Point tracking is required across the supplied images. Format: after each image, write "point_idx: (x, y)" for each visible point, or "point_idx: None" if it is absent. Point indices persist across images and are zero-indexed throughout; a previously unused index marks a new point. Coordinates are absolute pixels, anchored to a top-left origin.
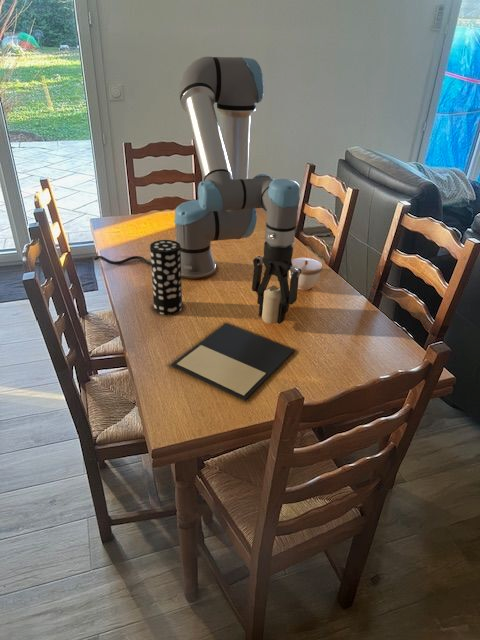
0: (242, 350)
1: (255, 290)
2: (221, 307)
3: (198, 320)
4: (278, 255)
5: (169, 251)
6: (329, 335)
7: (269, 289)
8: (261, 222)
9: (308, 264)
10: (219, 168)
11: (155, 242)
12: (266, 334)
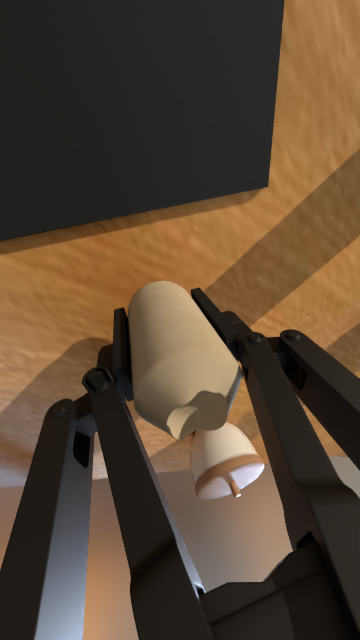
0: (76, 15)
1: (280, 338)
2: (312, 254)
3: (355, 121)
4: None
5: None
6: (13, 388)
7: (219, 392)
8: (336, 448)
9: (226, 486)
10: None
11: None
12: (126, 251)
